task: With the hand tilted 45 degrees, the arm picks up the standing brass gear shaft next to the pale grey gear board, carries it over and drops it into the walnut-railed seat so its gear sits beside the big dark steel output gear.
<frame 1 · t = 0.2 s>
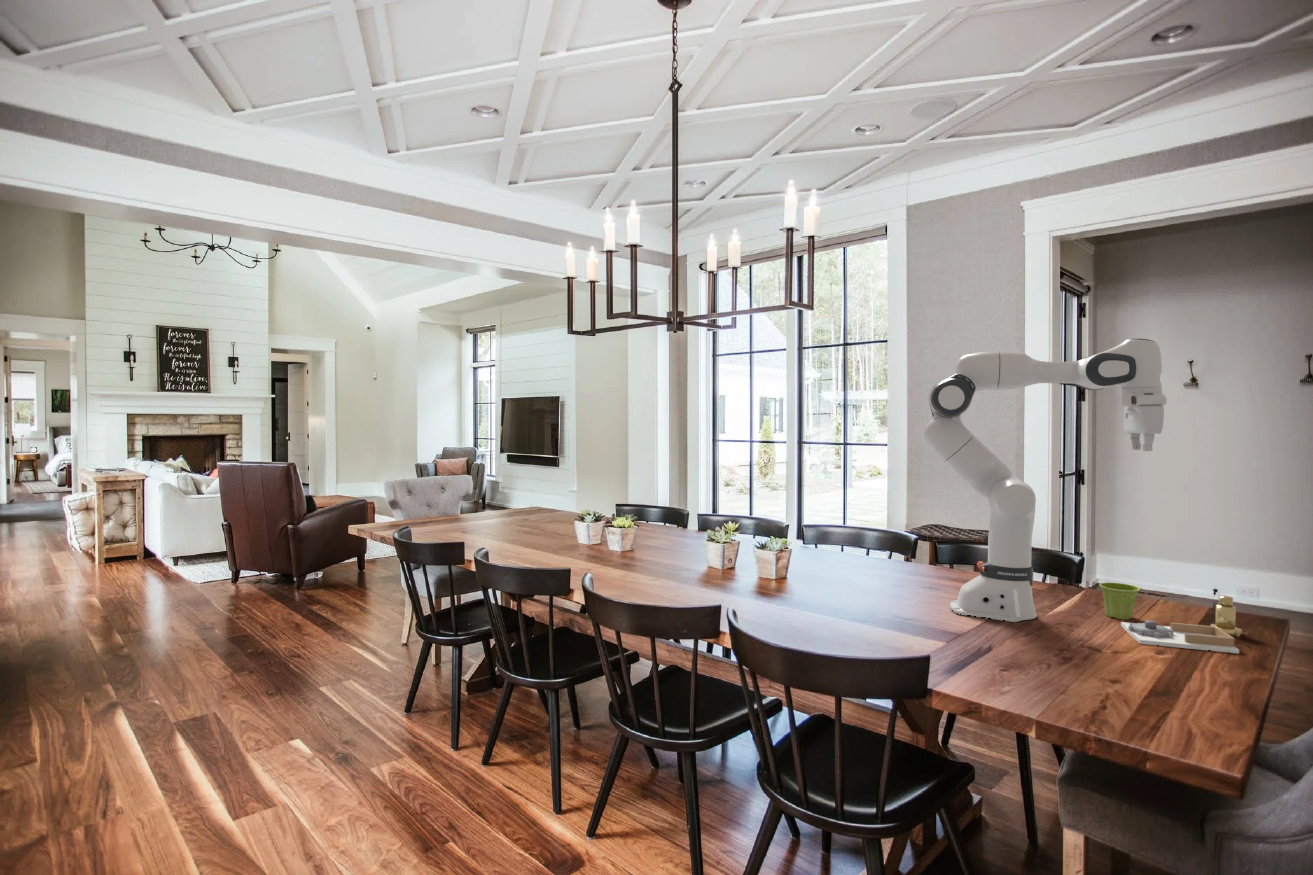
hand: (1141, 450, 183), 47 cm above the table, tool pointing down, fingers open, 8 cm apart
gear board: (1176, 638, 173), on the table
brass gear shaft: (1225, 632, 178), on the table
plant pot: (1118, 617, 193), on the table
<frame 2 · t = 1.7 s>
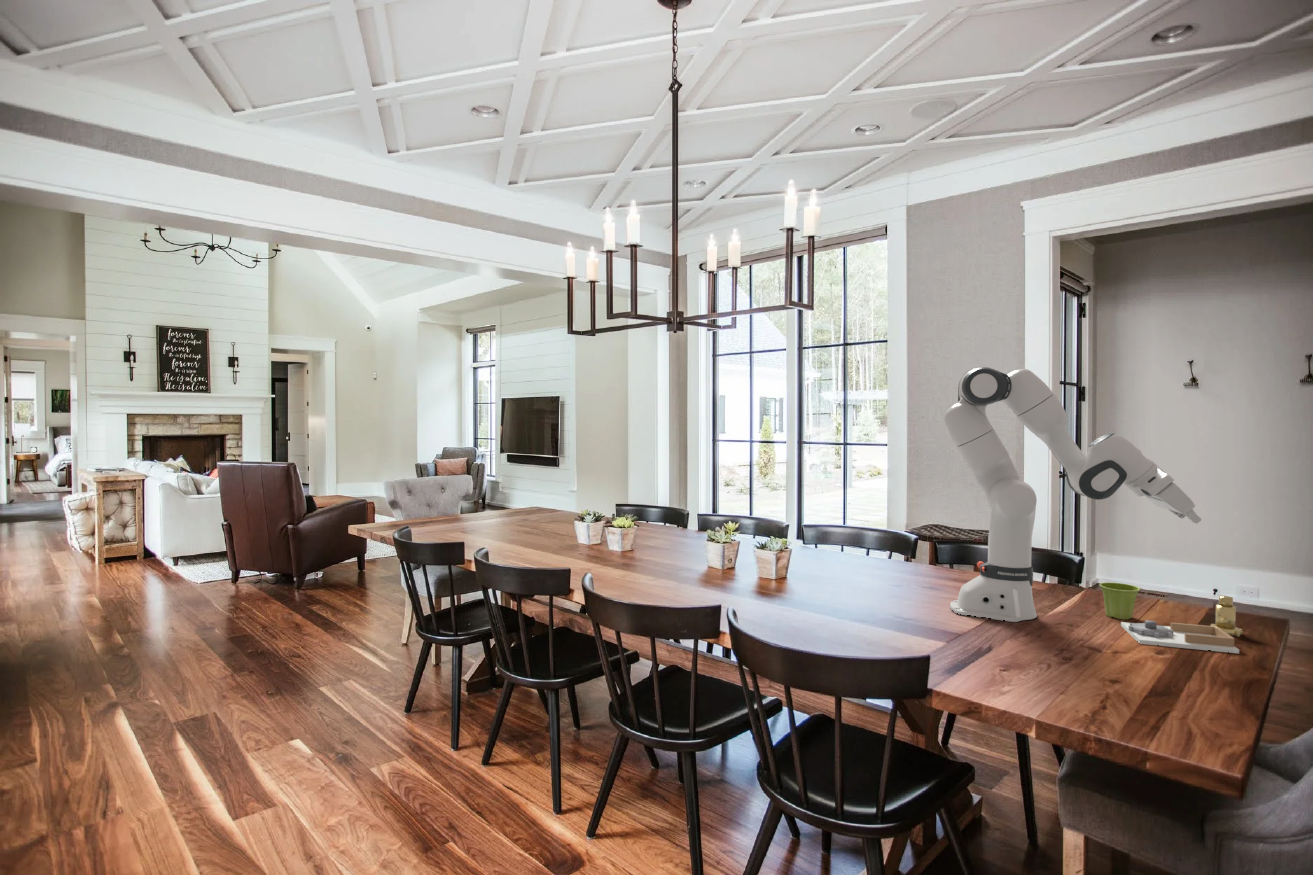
hand: (1190, 519, 180), 29 cm above the table, tool tilted 45°, fingers open, 8 cm apart
nothing on the table moved.
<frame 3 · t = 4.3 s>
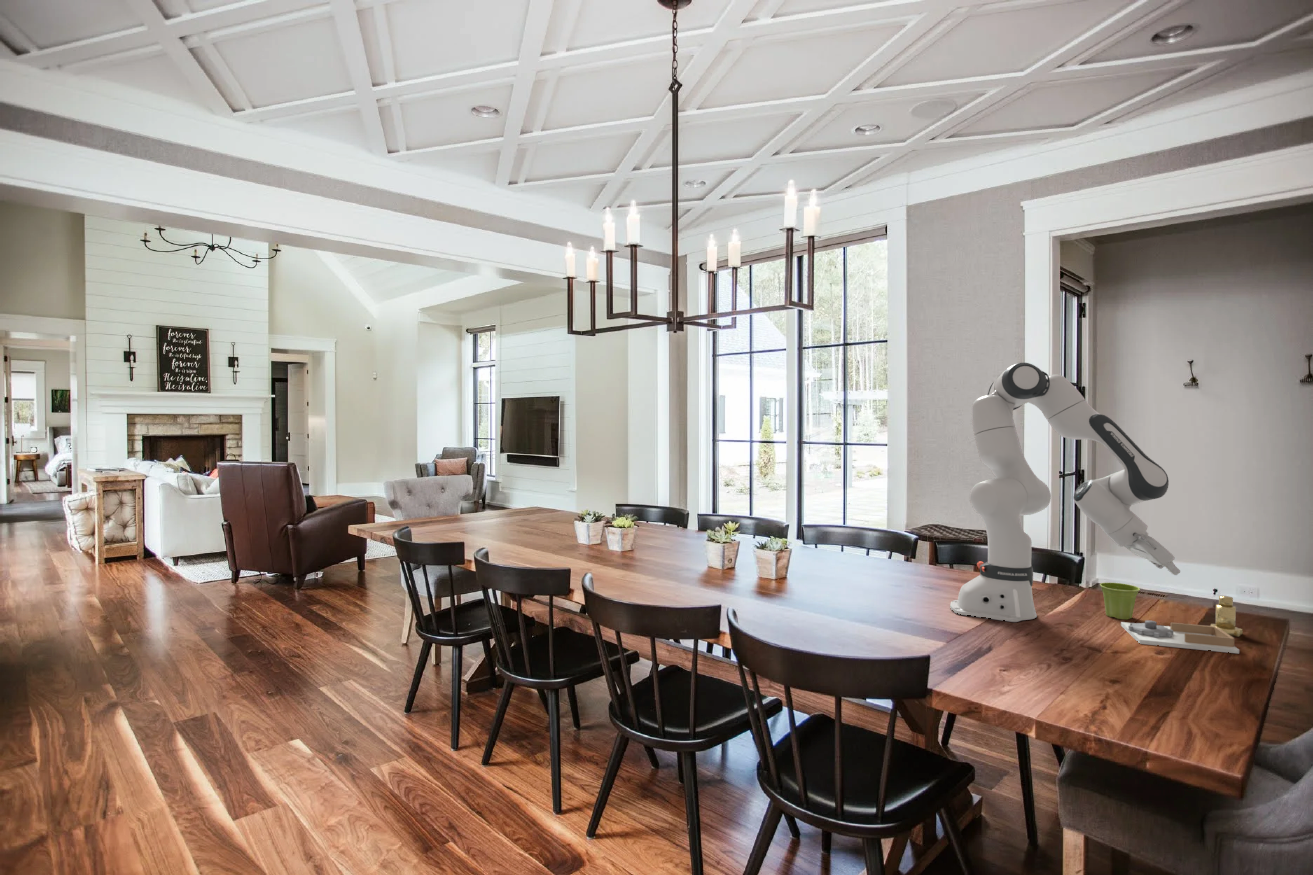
hand: (1169, 569, 182), 15 cm above the table, tool tilted 45°, fingers open, 8 cm apart
nothing on the table moved.
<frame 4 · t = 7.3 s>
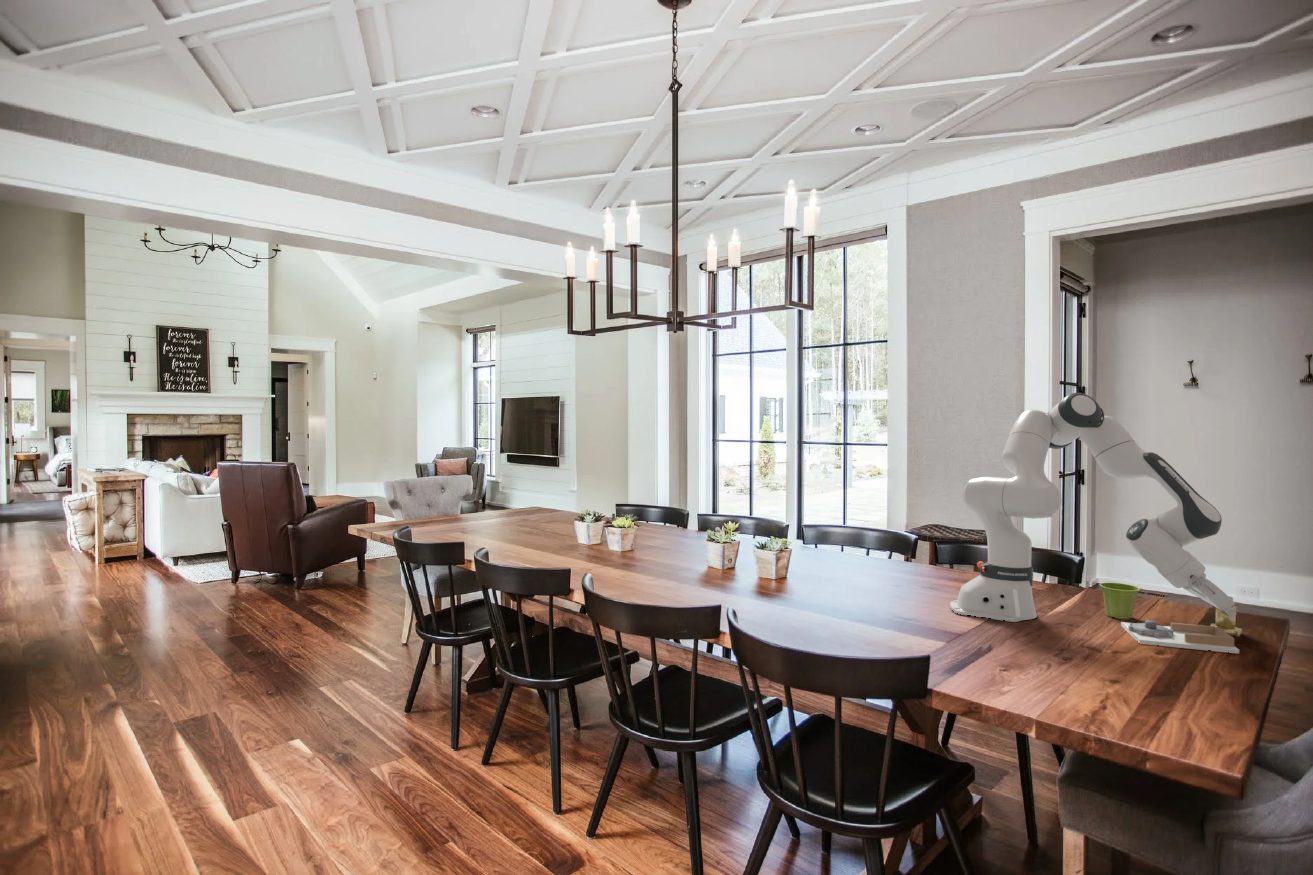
hand: (1228, 612, 178), 5 cm above the table, tool tilted 45°, fingers closed on brass gear shaft, 4 cm apart
brass gear shaft: (1225, 632, 178), on the table, touching gripper
everything else where it was.
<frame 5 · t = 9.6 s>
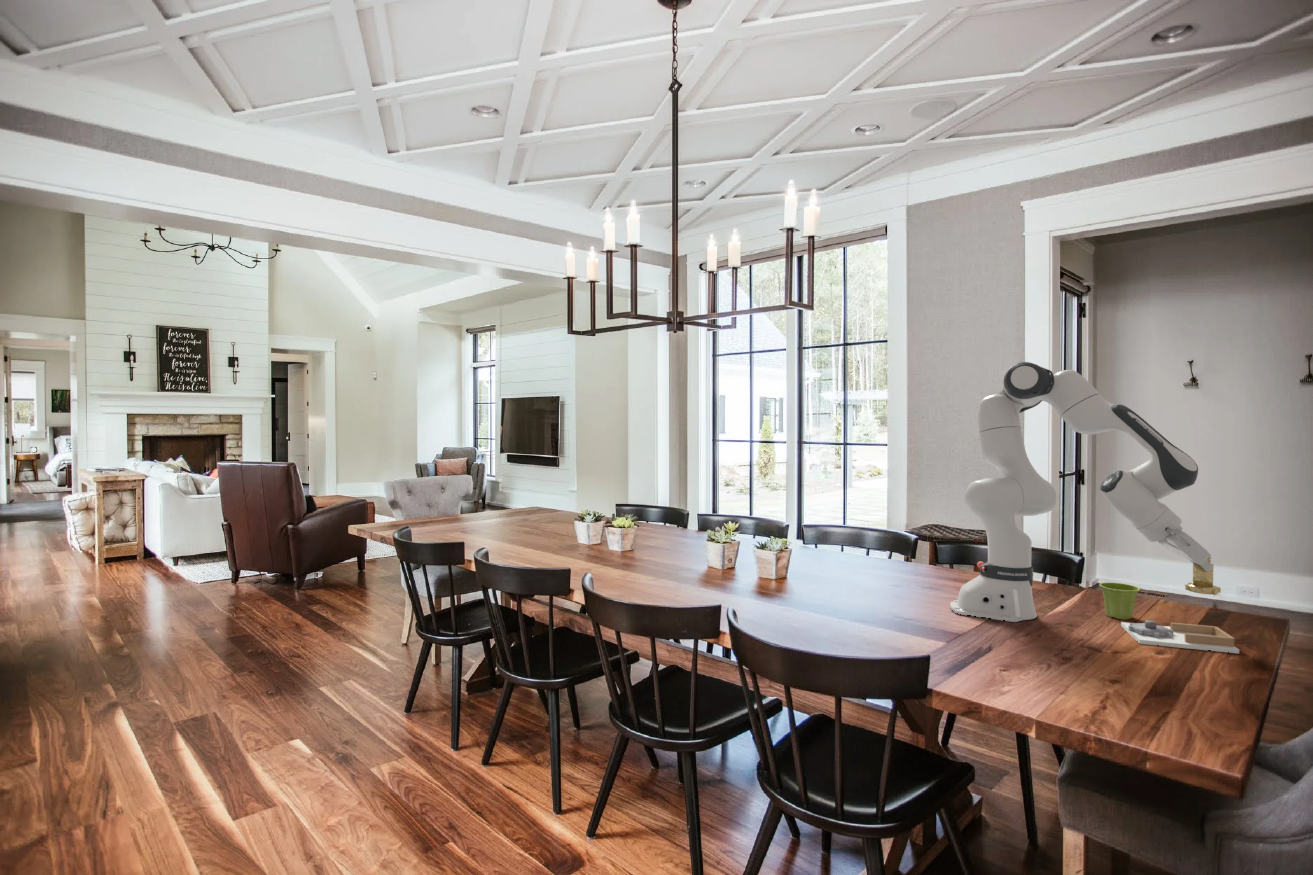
hand: (1205, 566, 170), 19 cm above the table, tool tilted 45°, fingers closed on brass gear shaft, 4 cm apart
brass gear shaft: (1202, 591, 170), point 13 cm above the table, touching gripper
everything else where it was.
when the fingers open (8 cm above the table, at t = 12.2 s): brass gear shaft stays where it is, resting on gear board.
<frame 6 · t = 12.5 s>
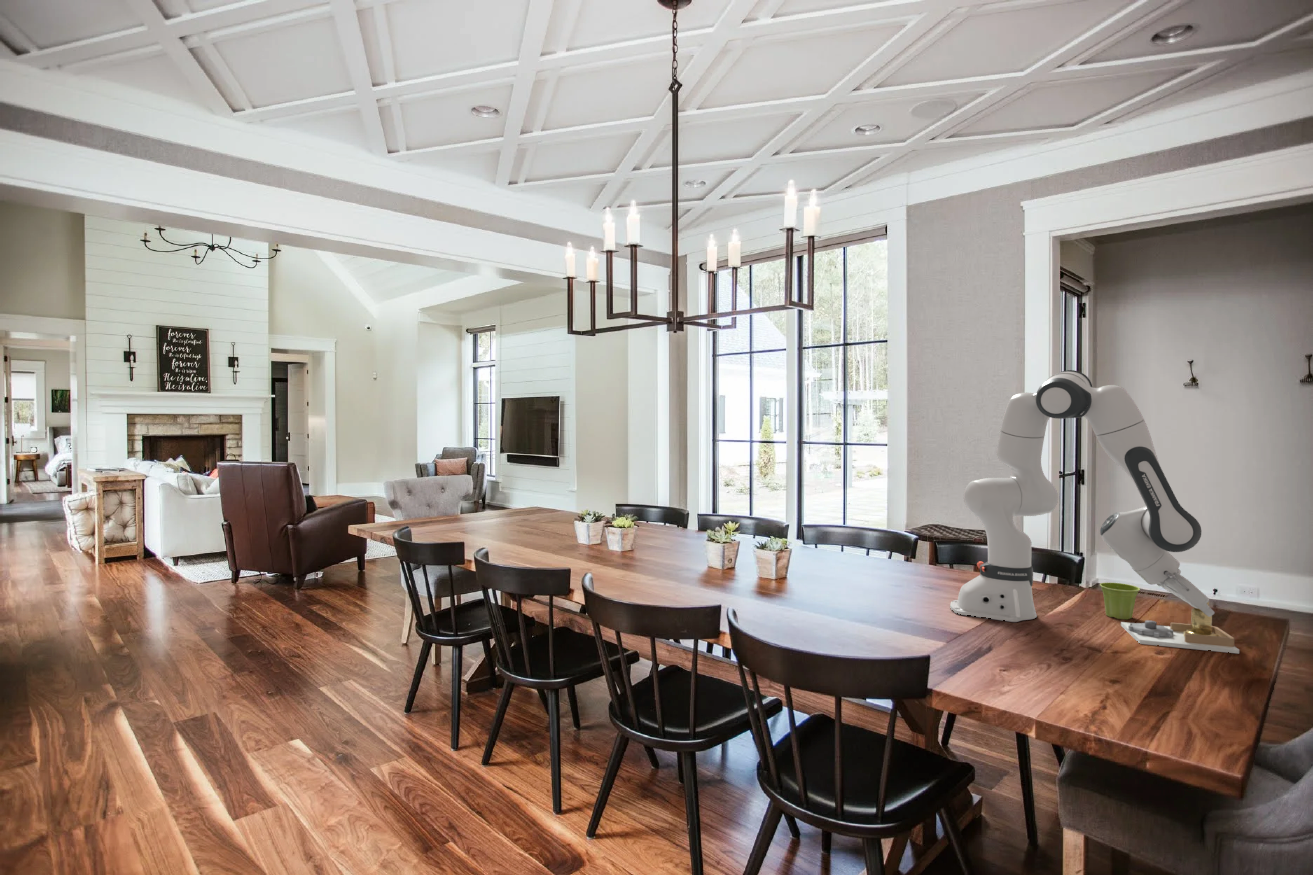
hand: (1203, 609, 170), 8 cm above the table, tool tilted 45°, fingers open, 7 cm apart
brass gear shaft: (1201, 638, 170), point 1 cm above the table, touching gear board
everything else where it was.
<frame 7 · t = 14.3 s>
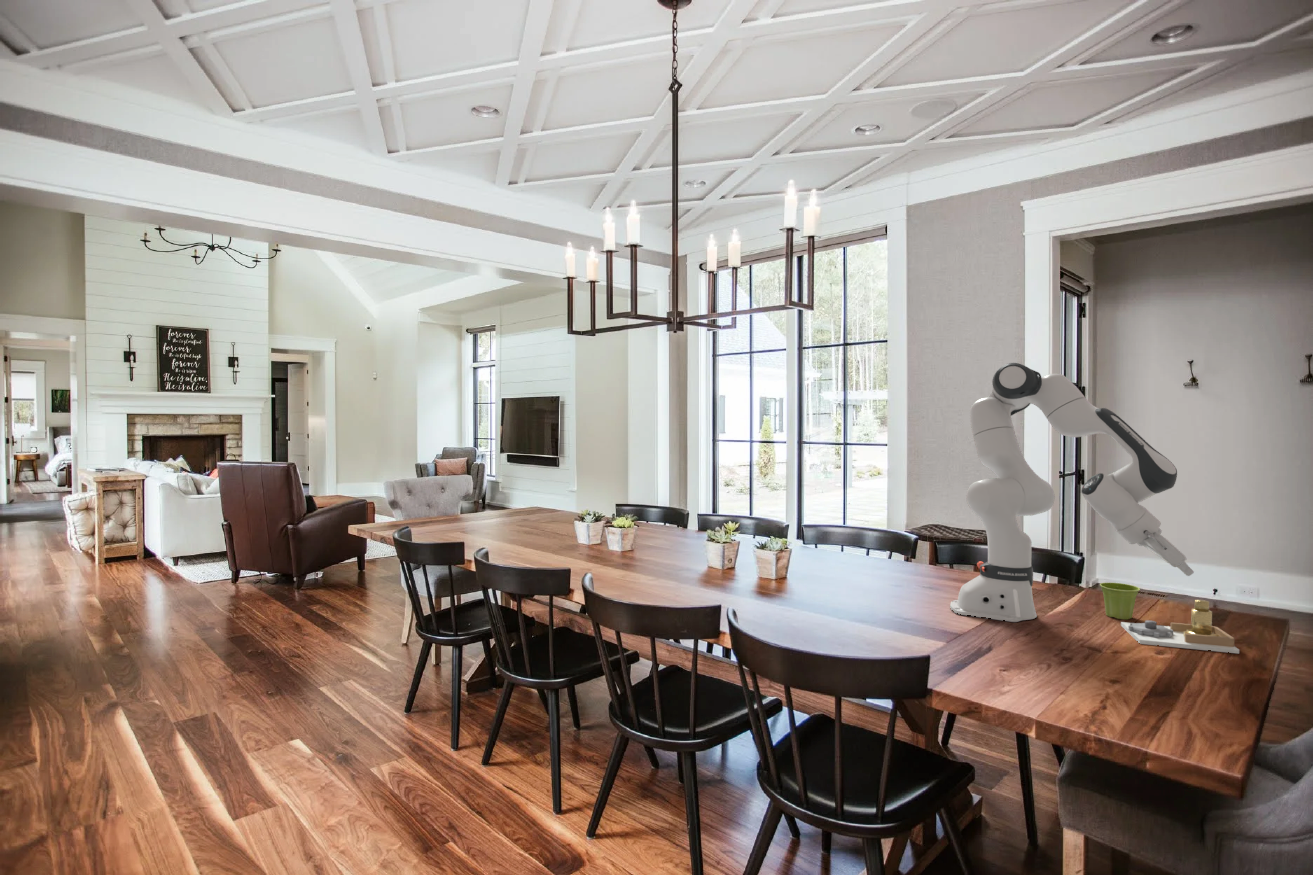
hand: (1183, 569, 172), 18 cm above the table, tool tilted 45°, fingers open, 8 cm apart
nothing on the table moved.
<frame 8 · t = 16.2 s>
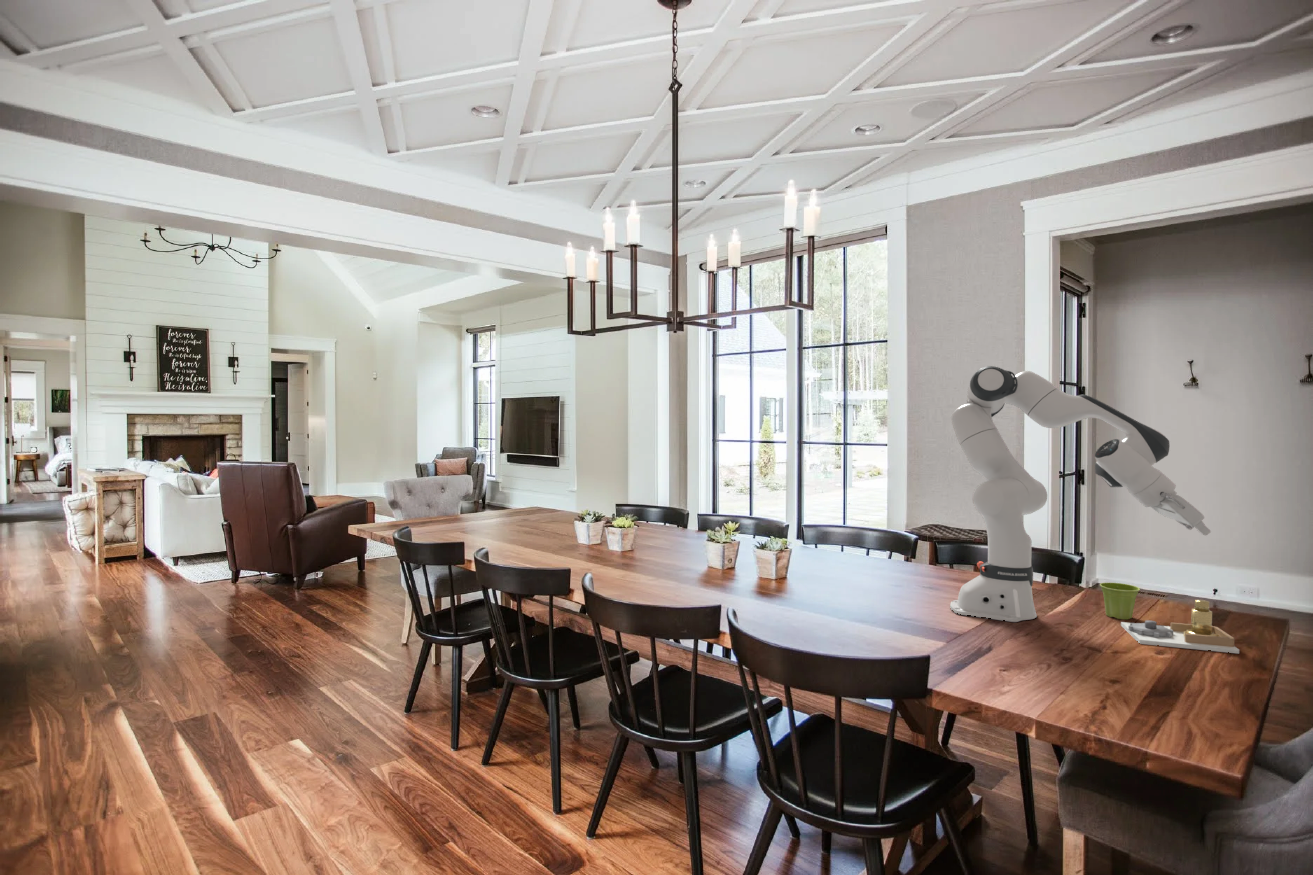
hand: (1199, 530, 174), 27 cm above the table, tool tilted 45°, fingers open, 8 cm apart
nothing on the table moved.
at the end: brass gear shaft 0.3 cm from the target spot on the gear board, point 1.0 cm above the gear board's base; brass gear shaft tilted 0°; the gripper is holding nothing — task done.
